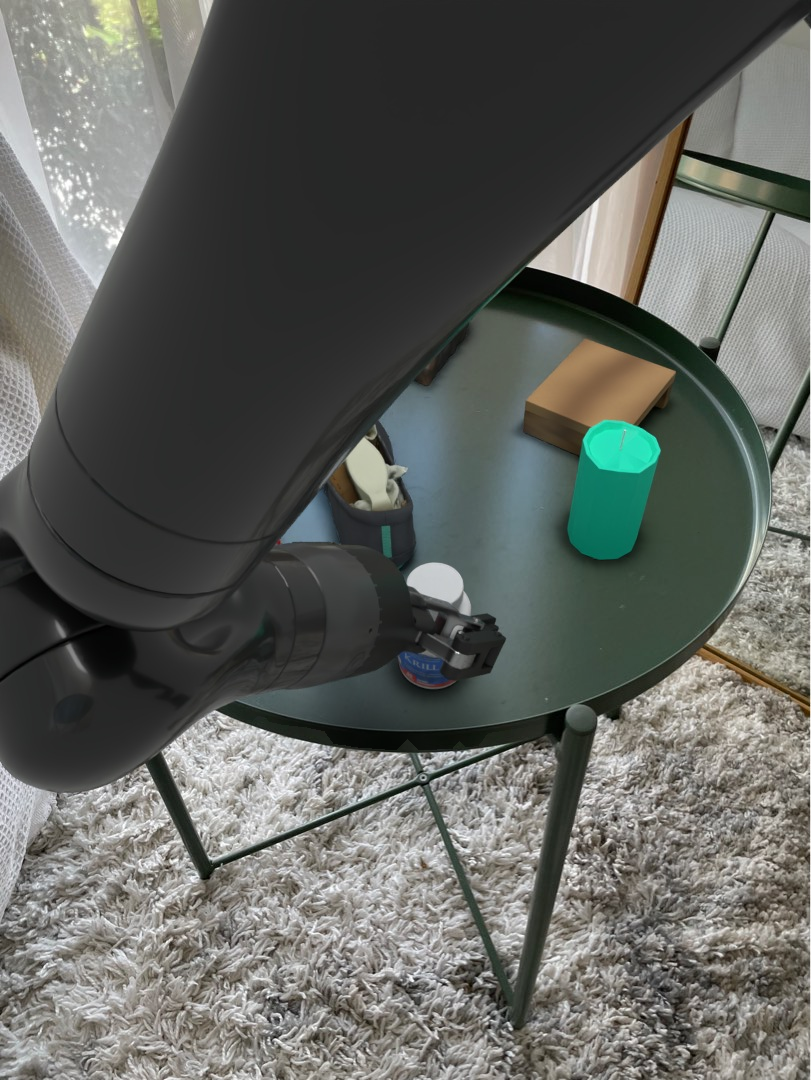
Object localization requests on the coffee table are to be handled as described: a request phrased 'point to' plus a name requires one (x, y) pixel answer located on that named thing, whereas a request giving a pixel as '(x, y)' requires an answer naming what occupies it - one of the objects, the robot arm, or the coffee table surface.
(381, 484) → the ballet flat
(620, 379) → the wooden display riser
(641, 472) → the candle
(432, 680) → the pill bottle
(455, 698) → the coffee table surface
